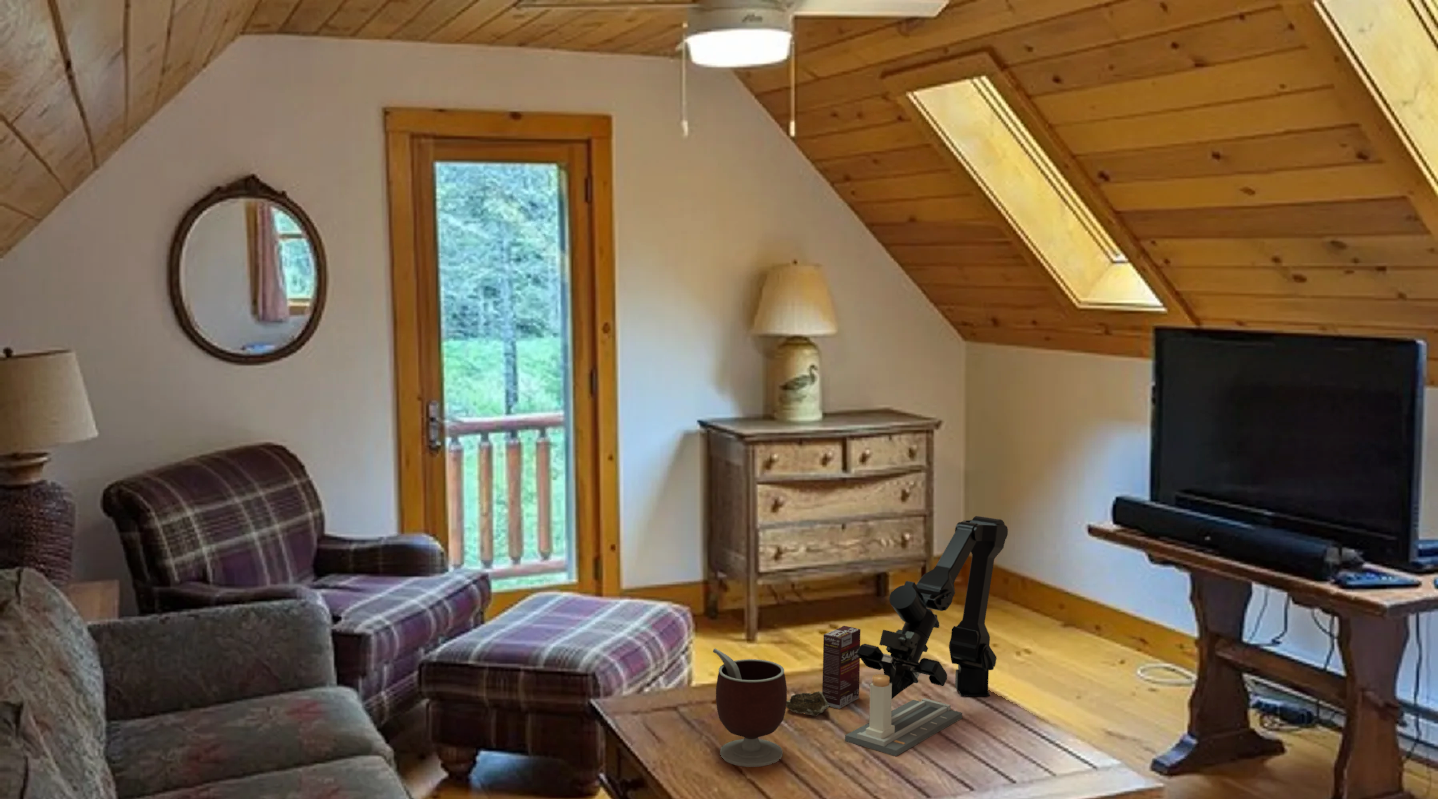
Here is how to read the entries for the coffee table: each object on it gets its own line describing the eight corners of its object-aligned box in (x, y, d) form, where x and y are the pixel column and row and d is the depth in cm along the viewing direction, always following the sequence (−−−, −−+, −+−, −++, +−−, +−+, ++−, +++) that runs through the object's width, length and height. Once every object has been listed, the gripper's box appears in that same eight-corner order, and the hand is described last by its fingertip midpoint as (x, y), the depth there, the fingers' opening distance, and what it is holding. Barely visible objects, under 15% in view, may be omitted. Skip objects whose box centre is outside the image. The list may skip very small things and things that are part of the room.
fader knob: (879, 730, 253) (880, 671, 252) (894, 735, 251) (895, 675, 249) (865, 738, 249) (866, 678, 248) (880, 742, 247) (881, 682, 245)
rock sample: (839, 688, 271) (819, 670, 265) (842, 719, 265) (822, 702, 260) (798, 702, 274) (777, 685, 269) (800, 733, 269) (780, 717, 264)
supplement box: (840, 710, 268) (840, 638, 266) (821, 705, 271) (821, 634, 269) (860, 698, 275) (861, 628, 273) (842, 693, 278) (842, 624, 276)
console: (913, 704, 271) (913, 695, 271) (962, 718, 263) (962, 708, 263) (845, 740, 251) (845, 730, 251) (895, 756, 244) (896, 745, 243)
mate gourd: (798, 748, 247) (799, 651, 245) (765, 774, 235) (765, 672, 233) (731, 733, 255) (731, 639, 253) (695, 757, 243) (695, 658, 241)
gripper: (862, 605, 258) (831, 670, 251) (941, 622, 246) (910, 691, 239) (882, 633, 265) (852, 697, 258) (960, 651, 253) (931, 719, 246)
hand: (885, 700), depth 250 cm, fingers closed, pressing on fader knob
